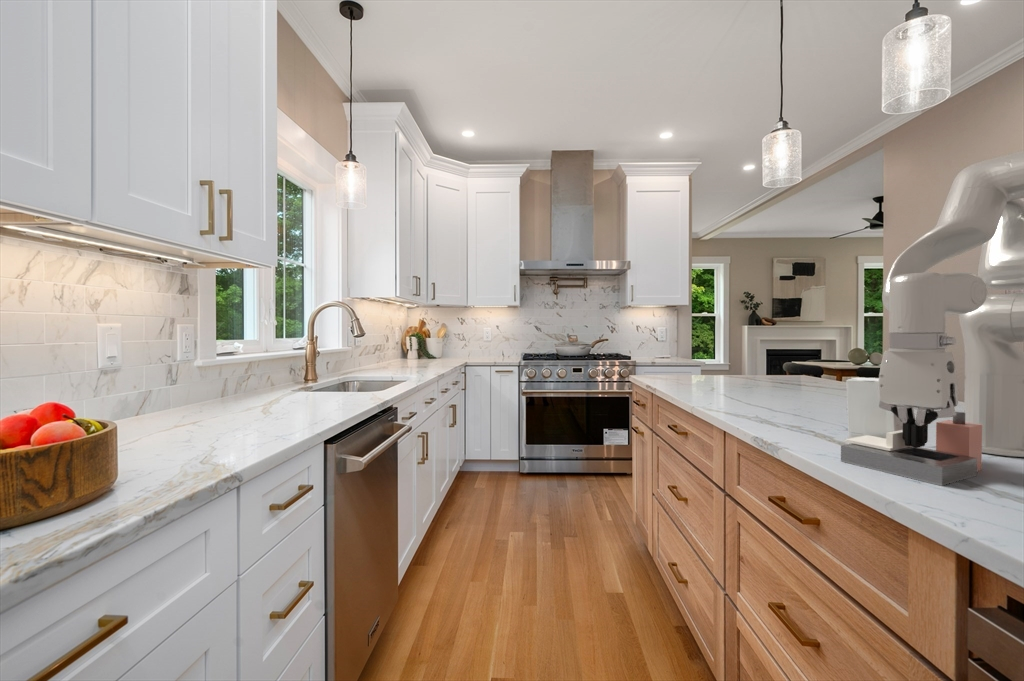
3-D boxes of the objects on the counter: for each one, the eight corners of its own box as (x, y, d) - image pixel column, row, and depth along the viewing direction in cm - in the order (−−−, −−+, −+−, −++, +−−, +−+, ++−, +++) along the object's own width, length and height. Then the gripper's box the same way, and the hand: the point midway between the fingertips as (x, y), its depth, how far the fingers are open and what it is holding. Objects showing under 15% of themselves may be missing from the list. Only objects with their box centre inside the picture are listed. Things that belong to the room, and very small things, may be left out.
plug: (948, 463, 84) (949, 409, 84) (981, 469, 80) (982, 413, 80) (935, 466, 83) (936, 411, 82) (968, 473, 78) (969, 415, 78)
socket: (876, 453, 91) (876, 438, 91) (977, 475, 77) (977, 457, 77) (840, 461, 86) (840, 445, 86) (941, 485, 72) (942, 467, 72)
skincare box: (906, 452, 91) (907, 379, 91) (895, 457, 88) (896, 381, 88) (857, 444, 98) (857, 375, 98) (845, 448, 95) (845, 377, 95)
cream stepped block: (867, 437, 91) (867, 422, 91) (913, 446, 85) (913, 430, 84) (845, 441, 88) (845, 426, 88) (890, 451, 81) (890, 434, 81)
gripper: (983, 343, 76) (981, 453, 76) (879, 341, 89) (878, 435, 90) (961, 345, 72) (959, 459, 73) (856, 342, 86) (856, 439, 86)
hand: (914, 445), depth 81 cm, fingers closed
